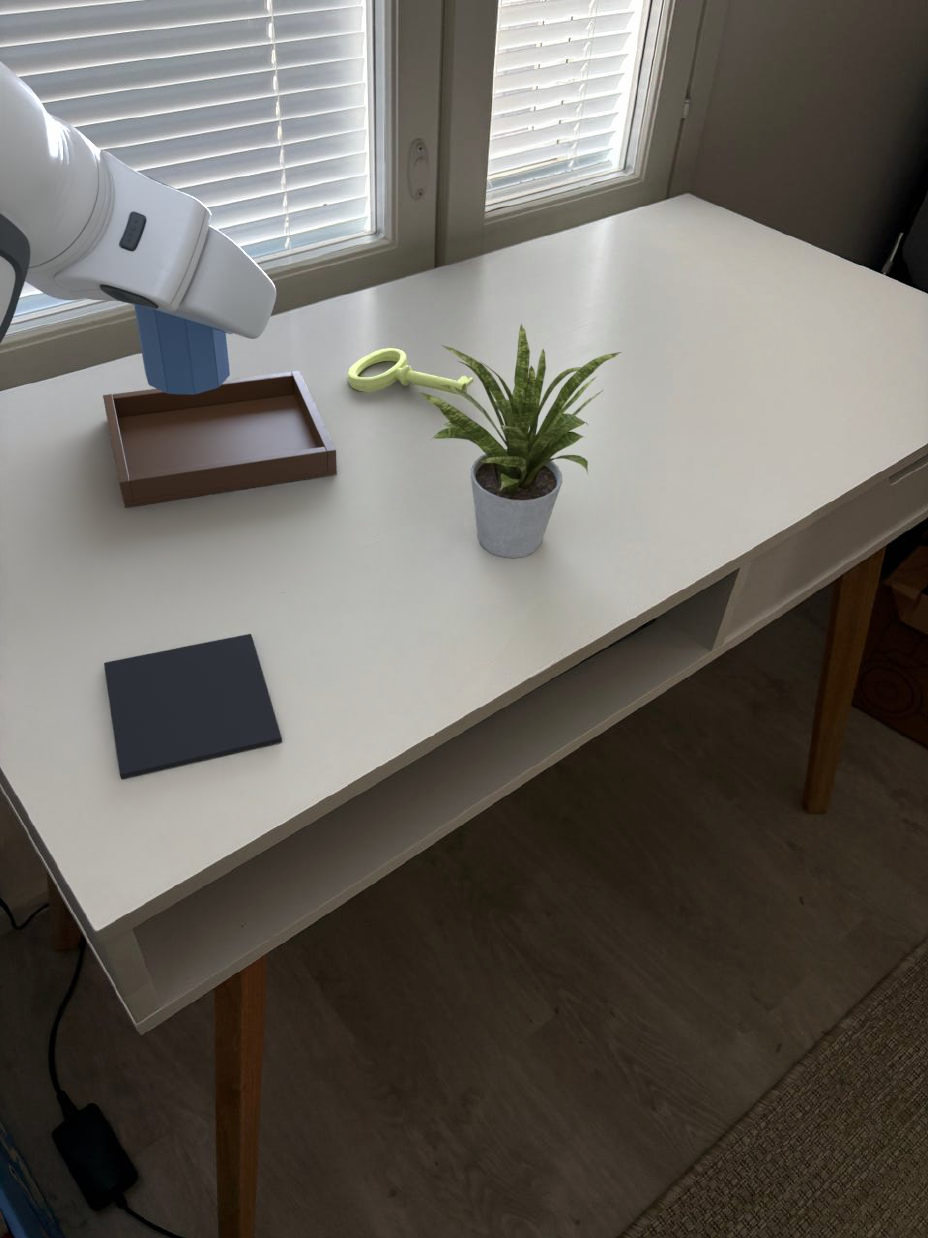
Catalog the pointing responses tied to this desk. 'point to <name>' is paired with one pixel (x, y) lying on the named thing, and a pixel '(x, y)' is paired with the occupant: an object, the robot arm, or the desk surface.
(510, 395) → the house plant
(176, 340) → the blue faceted tube
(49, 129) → the robot arm
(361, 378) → the key
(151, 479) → the tray
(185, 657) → the mat
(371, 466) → the desk surface
